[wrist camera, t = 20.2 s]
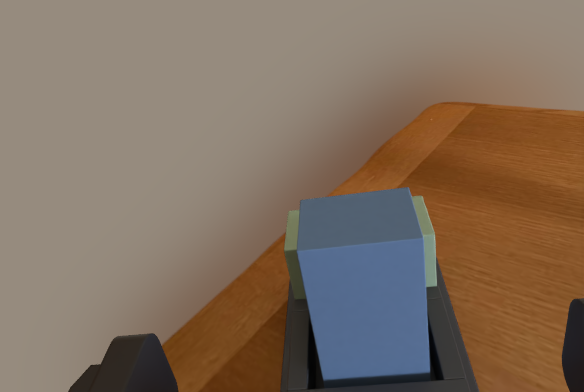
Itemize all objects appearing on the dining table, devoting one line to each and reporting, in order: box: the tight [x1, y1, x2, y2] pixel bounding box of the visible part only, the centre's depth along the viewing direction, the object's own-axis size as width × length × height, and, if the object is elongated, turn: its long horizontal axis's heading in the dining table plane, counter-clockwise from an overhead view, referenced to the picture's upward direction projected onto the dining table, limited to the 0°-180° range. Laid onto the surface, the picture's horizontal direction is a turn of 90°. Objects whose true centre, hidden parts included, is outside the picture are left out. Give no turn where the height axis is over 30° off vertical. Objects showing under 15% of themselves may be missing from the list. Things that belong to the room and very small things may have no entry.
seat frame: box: [280, 196, 479, 392], centre depth 28 cm, size 15×10×8 cm, turn 177°
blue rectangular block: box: [297, 187, 431, 388], centre depth 24 cm, size 4×5×10 cm
